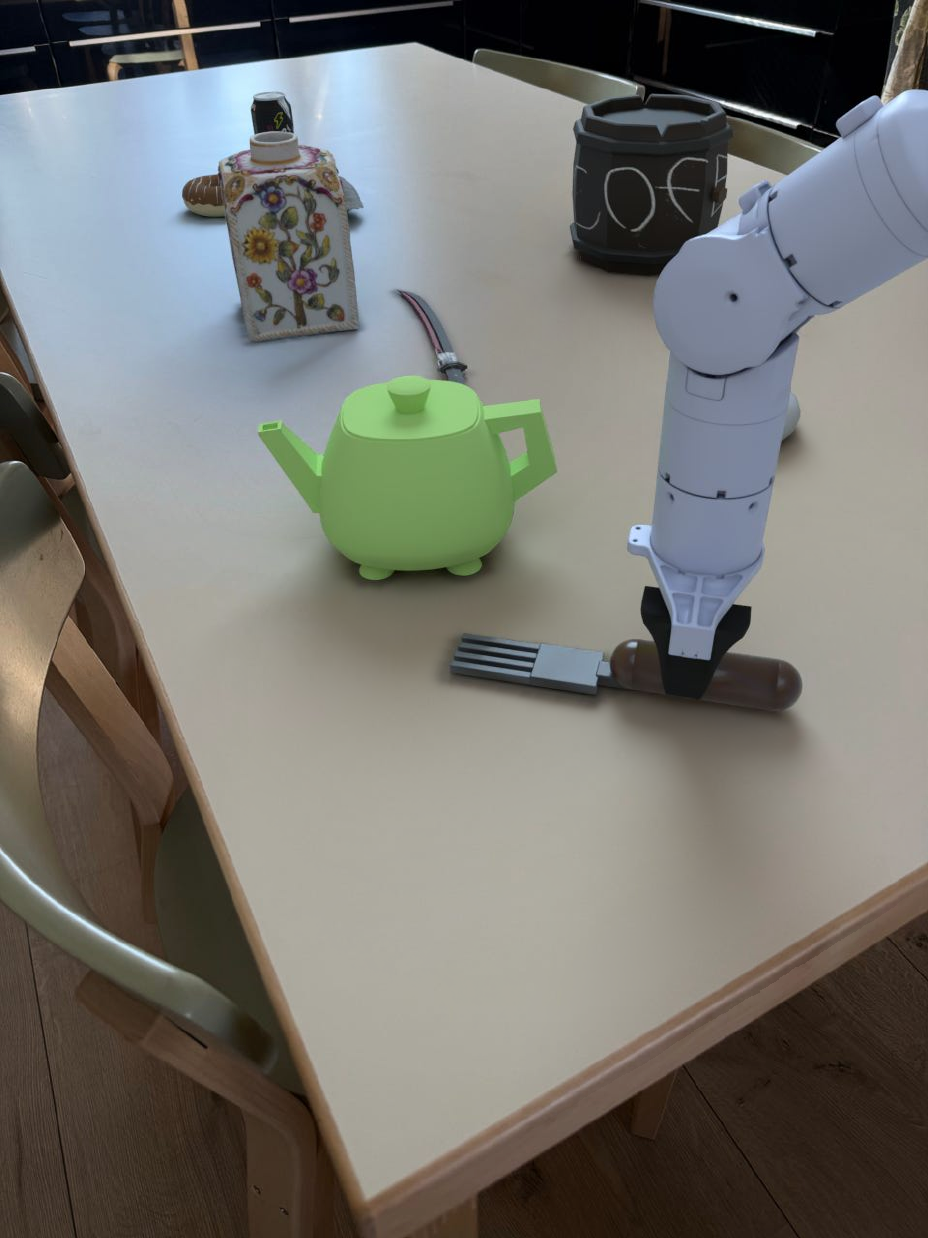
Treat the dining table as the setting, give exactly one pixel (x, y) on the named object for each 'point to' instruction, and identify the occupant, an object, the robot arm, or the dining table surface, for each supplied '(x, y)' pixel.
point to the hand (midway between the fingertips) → (686, 672)
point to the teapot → (416, 474)
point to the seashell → (351, 195)
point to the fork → (625, 670)
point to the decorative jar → (289, 238)
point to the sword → (448, 357)
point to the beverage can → (271, 113)
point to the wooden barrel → (647, 179)
